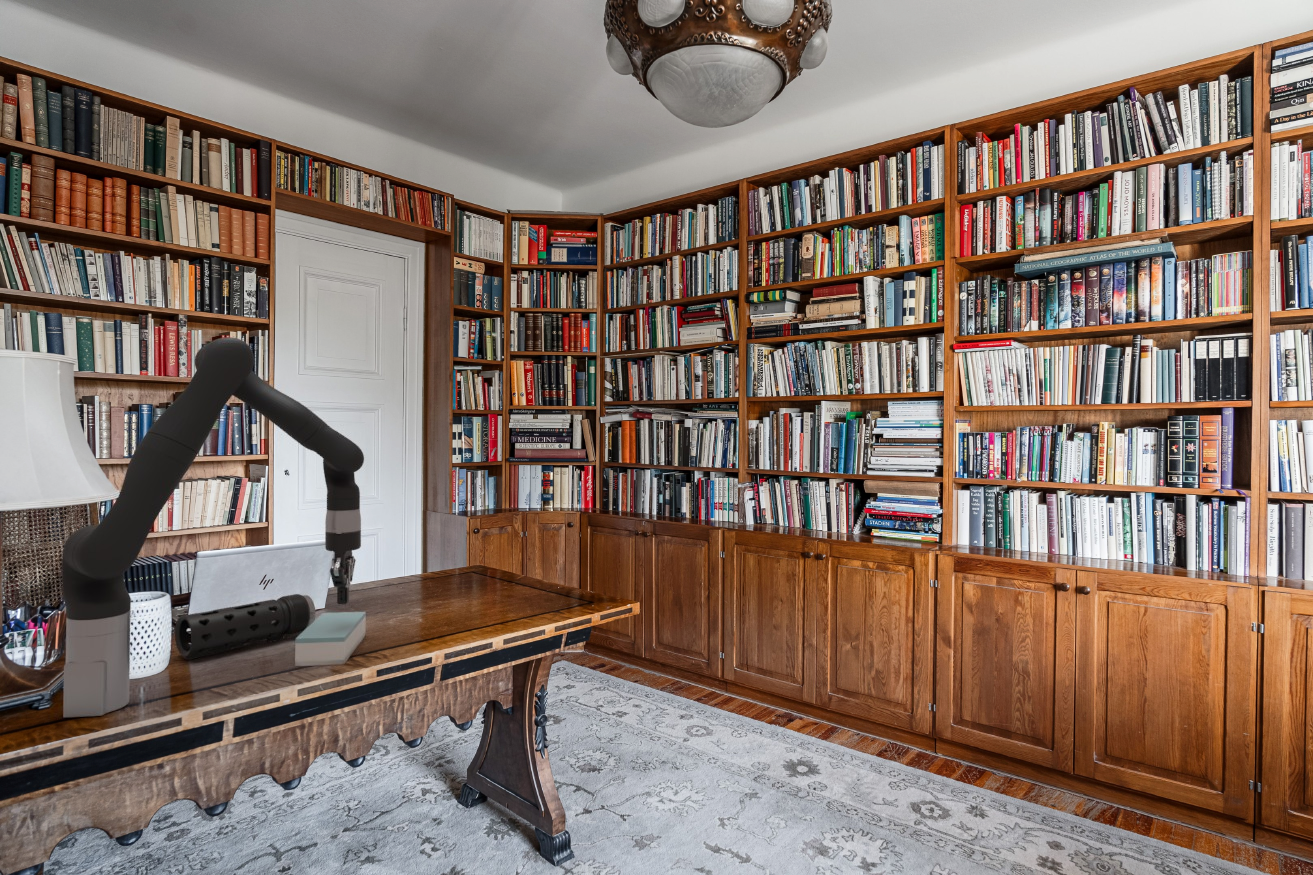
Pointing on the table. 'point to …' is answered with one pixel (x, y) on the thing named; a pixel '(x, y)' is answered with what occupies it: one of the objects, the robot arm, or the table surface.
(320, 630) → the trough lid
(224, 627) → the muzzle brake
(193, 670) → the table surface
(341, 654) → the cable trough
